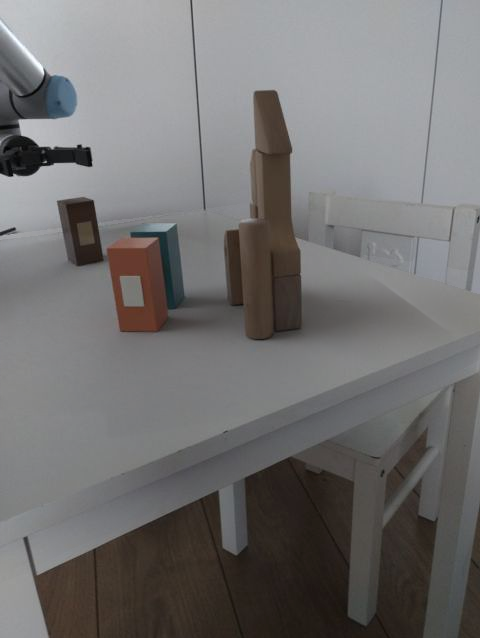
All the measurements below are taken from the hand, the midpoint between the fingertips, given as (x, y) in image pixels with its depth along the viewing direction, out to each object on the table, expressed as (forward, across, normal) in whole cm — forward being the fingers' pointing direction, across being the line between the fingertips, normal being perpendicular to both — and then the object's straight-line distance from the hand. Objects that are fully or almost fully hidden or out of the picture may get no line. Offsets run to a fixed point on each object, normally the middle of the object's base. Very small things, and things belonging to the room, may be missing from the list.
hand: (50, 163), depth 97 cm
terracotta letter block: (+43, +5, -15) cm, 46 cm away
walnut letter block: (+10, 0, -15) cm, 18 cm away
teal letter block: (+38, 0, -15) cm, 41 cm away
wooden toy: (+50, -7, -15) cm, 53 cm away
